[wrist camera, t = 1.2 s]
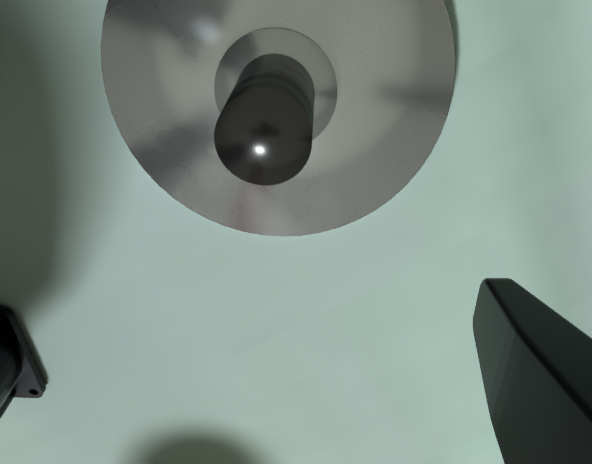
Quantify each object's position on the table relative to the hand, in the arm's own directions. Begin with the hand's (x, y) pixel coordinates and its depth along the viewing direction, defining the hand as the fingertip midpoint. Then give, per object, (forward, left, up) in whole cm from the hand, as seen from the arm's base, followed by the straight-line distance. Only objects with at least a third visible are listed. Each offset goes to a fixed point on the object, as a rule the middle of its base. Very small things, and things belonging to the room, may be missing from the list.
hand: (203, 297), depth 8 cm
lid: (0, 0, -12) cm, 12 cm away
